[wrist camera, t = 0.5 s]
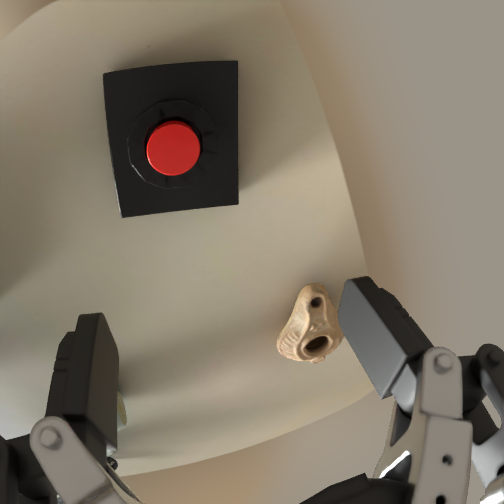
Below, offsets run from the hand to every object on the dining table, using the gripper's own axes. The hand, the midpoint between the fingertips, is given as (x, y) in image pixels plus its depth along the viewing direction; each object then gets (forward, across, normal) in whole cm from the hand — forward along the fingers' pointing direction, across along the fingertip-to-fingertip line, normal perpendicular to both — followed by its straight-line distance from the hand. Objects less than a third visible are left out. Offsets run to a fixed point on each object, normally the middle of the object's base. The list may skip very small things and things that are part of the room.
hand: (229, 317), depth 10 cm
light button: (+15, +1, -2) cm, 16 cm away
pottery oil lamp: (+19, -13, +20) cm, 30 cm away
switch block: (+19, +1, -2) cm, 19 cm away
